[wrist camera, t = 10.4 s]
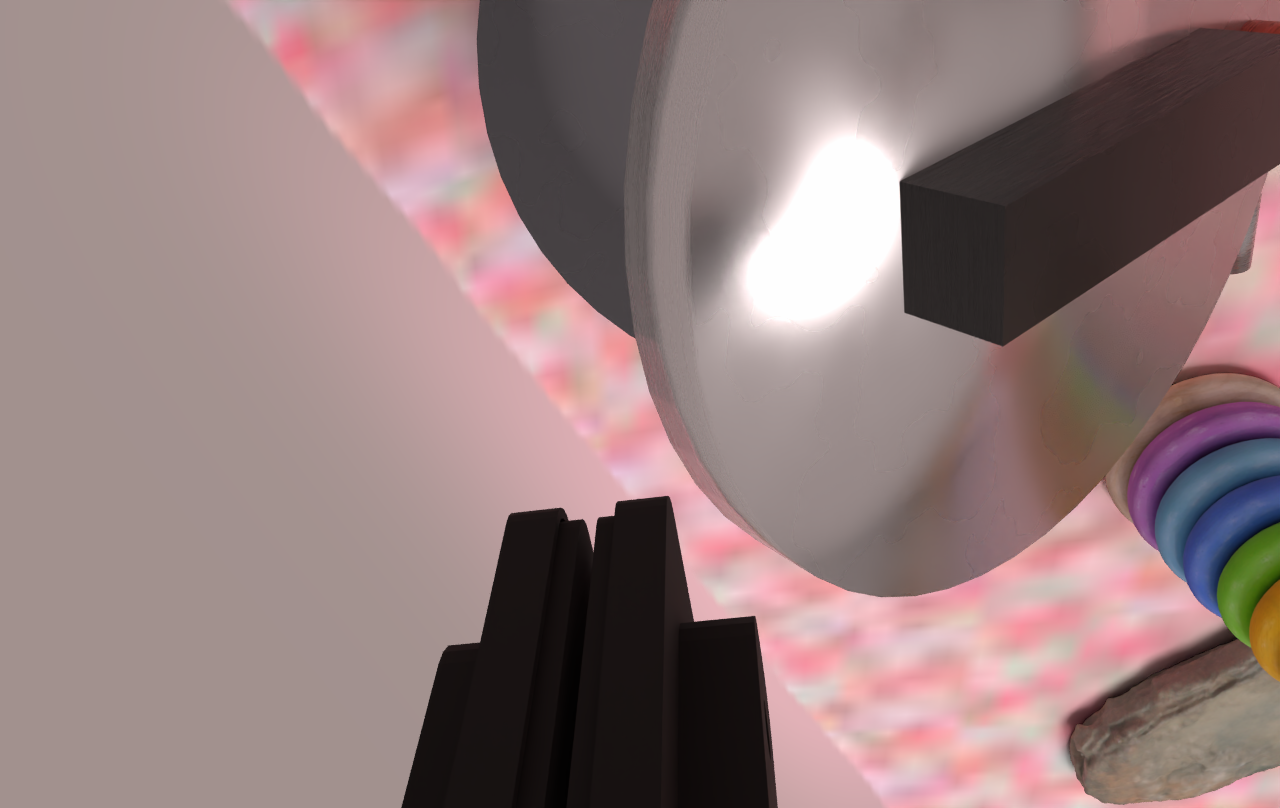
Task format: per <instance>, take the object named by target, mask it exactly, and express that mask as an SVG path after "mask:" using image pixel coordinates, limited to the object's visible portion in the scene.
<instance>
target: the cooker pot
mask: <svg viewBox="0 0 1280 808" xmlns="http://www.w3.org/2000/svg"><path fill="white" fill-rule="evenodd" d="M652 3H653V0H480V6H479V19H478V31H477V53H478V74H479V89H480V95H481V101H482V106H483V112H484V117H485V123H486V129H487V134H488V137H489V140H490V143H491V146H492V150H493V153H494V156H495V159H496V162H497V166H498V169H499V172H500V175H501V178H502V180H503V182H504V184H505V186H506V188H507V191H508V193H509V195H510V197H511V199H512V201H513V204H514V206H515V208H516V210H517V212H518V214H519V216H520V218H521V220H522V221H523V223H524V224H525V226H526V227H527V229H528V231H529V232H530V234H531V235H532V237H533V239H534V240H535V242H536V243H537V245H538V247H539V248H540V250H541V251H542V253H543V254H544V255H545V256H546V258H547V259H548V260H549V261H550V262H551V264H552V265H553V266H554V267H555V268H556V270H557V271H558V272H559V273H560V275H561V276H562V277H563V278H564V279H565V281H566V282H567V283H568V284H569V285H570V286H571V287H572V288H573V289H574V290H575V291H576V292H577V293H578V294H579V295H581V296H582V297H583V298H584V299H585V300H586V301H587V302H588V303H589V304H590V305H591V306H592V307H593V308H594V309H595V310H596V311H597V312H599V313H600V314H602V315H603V316H604V317H606V318H607V319H608V320H610V321H611V322H612V323H614V324H615V325H617V326H618V327H619V328H621V329H622V330H623V331H625V332H626V333H627V334H629V335H630V336H632V337H634V338H636V337H635V333H634V328H633V320H632V312H631V304H630V296H629V289H628V281H627V273H626V265H625V218H624V181H625V170H626V159H627V148H628V137H629V125H630V114H631V104H632V99H633V93H634V88H635V83H636V78H637V73H638V67H639V62H640V57H641V52H642V47H643V41H644V36H645V31H646V26H647V21H648V17H649V14H650V10H651V7H652ZM1261 195H1262V194H1261ZM1261 195H1260V197H1259V200H1258V203H1257V206H1256V209H1255V211H1254V214H1253V217H1252V220H1251V223H1250V226H1249V228H1248V231H1247V234H1246V236H1245V238H1244V241H1243V243H1242V246H1241V248H1240V251H1239V253H1238V255H1237V258H1236V260H1235V263H1234V265H1233V268H1232V270H1231V272H1230V274H1238V273H1242V272H1245V271H1247V270H1248V269H1249V268H1250V267H1251V262H1252V255H1253V248H1254V242H1255V235H1256V228H1257V222H1258V215H1259V208H1260V202H1261Z"/></svg>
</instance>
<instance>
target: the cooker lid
mask: <svg viewBox="0 0 1280 808" xmlns="http://www.w3.org/2000/svg"><path fill="white" fill-rule="evenodd" d="M1279 164H1280V0H653V3H652V7H651V10H650V14H649V17H648V21H647V26H646V31H645V36H644V41H643V47H642V52H641V57H640V62H639V67H638V73H637V78H636V83H635V88H634V93H633V99H632V104H631V114H630V125H629V137H628V148H627V159H626V170H625V181H624V218H625V265H626V273H627V281H628V289H629V296H630V304H631V312H632V320H633V328H634V333H635V337H636V341H637V345H638V349H639V353H640V357H641V361H642V365H643V368H644V372H645V376H646V380H647V384H648V388H649V392H650V394H651V397H652V399H653V401H654V404H655V406H656V409H657V411H658V414H659V416H660V418H661V421H662V423H663V426H664V428H665V431H666V433H667V435H668V438H669V440H670V443H671V444H672V446H673V448H674V449H675V451H676V452H677V454H678V456H679V457H680V459H681V461H682V462H683V464H684V466H685V467H686V469H687V470H688V472H689V474H690V475H691V477H692V479H693V480H694V482H695V483H696V485H697V486H698V487H699V488H700V489H701V490H702V492H703V493H704V494H705V495H706V496H707V497H708V498H709V499H710V500H711V502H712V503H713V504H714V505H715V506H716V507H717V508H718V509H719V510H720V512H721V513H722V514H723V515H724V516H725V517H726V518H728V519H729V520H730V521H732V522H733V523H734V524H736V525H737V526H738V527H740V528H741V529H742V530H744V531H745V532H746V533H748V534H749V535H750V536H752V537H753V538H755V539H756V540H757V541H759V542H761V543H762V544H764V545H766V546H767V547H769V548H770V549H772V550H774V551H775V552H777V553H779V554H780V555H782V556H783V557H785V558H787V559H788V560H790V561H791V562H793V563H795V564H796V565H798V566H800V567H801V568H803V569H804V570H806V571H808V572H809V573H811V574H813V575H814V576H816V577H818V578H820V579H822V580H825V581H827V582H829V583H831V584H834V585H836V586H838V587H841V588H843V589H845V590H847V591H851V592H857V593H862V594H867V595H873V596H878V597H903V596H918V595H922V594H927V593H931V592H936V591H940V590H945V589H949V588H951V587H954V586H956V585H959V584H961V583H964V582H966V581H969V580H971V579H974V578H976V577H979V576H981V575H983V574H985V573H987V572H989V571H990V570H992V569H994V568H996V567H997V566H999V565H1001V564H1003V563H1004V562H1006V561H1008V560H1010V559H1011V558H1013V557H1015V556H1016V555H1018V554H1019V553H1020V552H1022V551H1023V550H1024V549H1026V548H1027V547H1028V546H1030V545H1031V544H1033V543H1034V542H1035V541H1037V540H1038V539H1039V538H1041V537H1042V536H1044V535H1045V534H1046V533H1047V532H1048V531H1050V530H1051V529H1052V528H1053V527H1054V526H1055V525H1056V524H1057V523H1058V522H1060V521H1061V520H1062V519H1063V518H1064V517H1065V516H1066V515H1067V514H1069V513H1070V512H1071V511H1072V510H1073V509H1074V508H1075V507H1076V506H1077V505H1078V504H1079V503H1080V502H1081V501H1082V500H1083V499H1084V498H1085V497H1086V496H1087V495H1088V494H1089V493H1090V492H1091V490H1092V489H1093V488H1094V487H1095V486H1096V485H1097V484H1098V483H1099V482H1100V481H1101V480H1102V479H1103V478H1104V477H1105V476H1106V474H1107V473H1108V472H1109V471H1110V469H1111V468H1112V467H1113V466H1114V465H1115V463H1116V462H1117V461H1118V460H1119V458H1120V457H1121V456H1122V455H1123V454H1124V452H1125V451H1126V450H1127V449H1128V447H1129V446H1130V445H1131V444H1132V442H1133V441H1134V440H1135V438H1136V437H1137V435H1138V434H1139V433H1140V431H1141V430H1142V428H1143V427H1144V426H1145V424H1146V423H1147V421H1148V420H1149V419H1150V417H1151V416H1152V414H1153V413H1154V411H1155V410H1156V409H1157V407H1158V406H1159V404H1160V403H1161V401H1162V400H1163V398H1164V396H1165V395H1166V393H1167V391H1168V390H1169V388H1170V387H1171V385H1172V383H1173V382H1174V380H1175V379H1176V377H1177V375H1178V374H1179V372H1180V371H1181V369H1182V367H1183V366H1184V364H1185V362H1186V360H1187V358H1188V357H1189V355H1190V353H1191V351H1192V349H1193V347H1194V346H1195V344H1196V342H1197V340H1198V338H1199V336H1200V334H1201V333H1202V331H1203V329H1204V327H1205V325H1206V323H1207V321H1208V319H1209V317H1210V315H1211V313H1212V311H1213V309H1214V307H1215V305H1216V303H1217V300H1218V298H1219V296H1220V294H1221V292H1222V290H1223V288H1224V286H1225V284H1226V282H1227V279H1228V277H1229V275H1230V272H1231V270H1232V268H1233V265H1234V263H1235V260H1236V258H1237V255H1238V253H1239V251H1240V248H1241V246H1242V243H1243V241H1244V238H1245V236H1246V234H1247V231H1248V228H1249V226H1250V223H1251V220H1252V217H1253V214H1254V211H1255V209H1256V206H1257V203H1258V200H1259V197H1260V195H1261V192H1262V189H1263V186H1264V183H1265V180H1266V177H1267V173H1268V171H1270V170H1271V169H1273V168H1275V167H1276V166H1278V165H1279Z"/></svg>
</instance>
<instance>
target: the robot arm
mask: <svg viewBox="0 0 1280 808" xmlns="http://www.w3.org/2000/svg"><path fill="white" fill-rule="evenodd" d="M401 808H778V807H777V796H776V783H775V772H774V761H773V749H772V739H771V730H770V719H769V711H768V702H767V693H766V686H765V677H764V671H763V662H762V656H761V649H760V642H759V635H758V629H757V622H756V617H755V616H750V617H739V618H729V619H719V620H708V621H698V622H694V619H693V614H692V609H691V603H690V598H689V593H688V587H687V582H686V577H685V571H684V566H683V561H682V555H681V550H680V545H679V539H678V534H677V529H676V523H675V518H674V513H673V508H672V503H671V500H670V497H669V496H663V497H654V498H645V499H636V500H627V501H618V502H617V503H616V507H615V515H614V516H608V517H599V518H598V520H597V525H596V535H595V544H594V553H593V548H592V545H591V541H590V536H589V532H588V528H587V525H586V523H585V521H584V520H583V519H582V520H572V521H568V517H567V515H566V513H565V511H564V509H562V508H555V509H546V510H536V511H528V512H518V513H511V514H510V515H509V517H508V520H507V523H506V527H505V532H504V536H503V541H502V546H501V550H500V555H499V559H498V564H497V568H496V573H495V578H494V582H493V586H492V591H491V596H490V600H489V605H488V609H487V614H486V618H485V623H484V627H483V632H482V636H481V641H480V643H470V644H461V645H451V646H448V647H447V648H446V649H445V650H444V652H443V654H442V657H441V659H440V662H439V664H438V668H437V672H436V676H435V680H434V684H433V688H432V691H431V695H430V699H429V703H428V707H427V711H426V715H425V719H424V723H423V727H422V730H421V734H420V739H419V742H418V746H417V749H416V753H415V758H414V761H413V765H412V769H411V773H410V777H409V781H408V785H407V788H406V792H405V796H404V800H403V804H402V807H401Z"/></svg>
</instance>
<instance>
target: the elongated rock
mask: <svg viewBox="0 0 1280 808" xmlns="http://www.w3.org/2000/svg"><path fill="white" fill-rule="evenodd" d="M1069 749H1070V755H1071V761H1072V764H1073V765H1074V767H1075V771H1076V777H1077V779H1078V780H1079V781H1080V782H1081V784H1082V786H1083V787H1084V791H1085V793H1086V794H1088V795H1091V796H1093V797H1094V798H1096V799H1098V800H1099V801H1101V802H1102V803H1113V804H1118V805H1121V804H1123V805H1124V804H1128V803H1140V802H1152V801H1166V800H1181V799H1186V798H1192V797H1196V796H1200V795H1202V794H1204V793H1208V792H1211V791H1215V790H1218V789H1220V788H1222V787H1224V786H1227V785H1230V784H1231V783H1233V782H1235V781H1236V780H1239V779H1241V778H1243V777H1247V776H1250V775H1252V774H1254V773H1256V772H1261V771H1265V770H1268V769H1272V768H1275V767H1278V766H1280V682H1279V681H1278V680H1276V679H1275V678H1273V677H1272V676H1270V675H1269V674H1268V673H1267V672H1266V671H1265V670H1264V669H1263V668H1262V667H1261V665H1260V664H1259V663H1258V661H1257V659H1256V657H1255V656H1254V654H1253V651H1252V649H1251V647H1249V646H1247V645H1246V644H1244V643H1243V642H1241V641H1240V640H1239V639H1236V640H1234V641H1232V642H1229V643H1227V644H1225V645H1219V646H1217V647H1215V648H1213V649H1212V650H1207V651H1206V652H1204V653H1202V654H1199V655H1195V656H1194V657H1192V658H1190V659H1188V660H1185V661H1182V662H1181V663H1179V664H1177V665H1174V666H1173V667H1170V668H1168V669H1164V670H1162V671H1160V672H1158V673H1154V674H1152V675H1151V676H1150V677H1149V678H1147V679H1146V680H1144V681H1142V682H1141V683H1140V684H1138V685H1137V686H1135V687H1132V688H1131V689H1130V690H1129V691H1128V692H1126V693H1124V694H1123V695H1121V696H1119V697H1115V698H1108V699H1107V700H1106V703H1105V704H1104V705H1103V707H1102V708H1101V709H1100V710H1099V711H1097V712H1095V713H1093V714H1092V715H1091V716H1090V717H1089V718H1087V719H1086V720H1085V722H1084V723H1083V724H1082V725H1081V724H1077V725H1076V727H1075V731H1074V732H1073V734H1072V736H1071V738H1070V746H1069Z"/></svg>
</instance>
